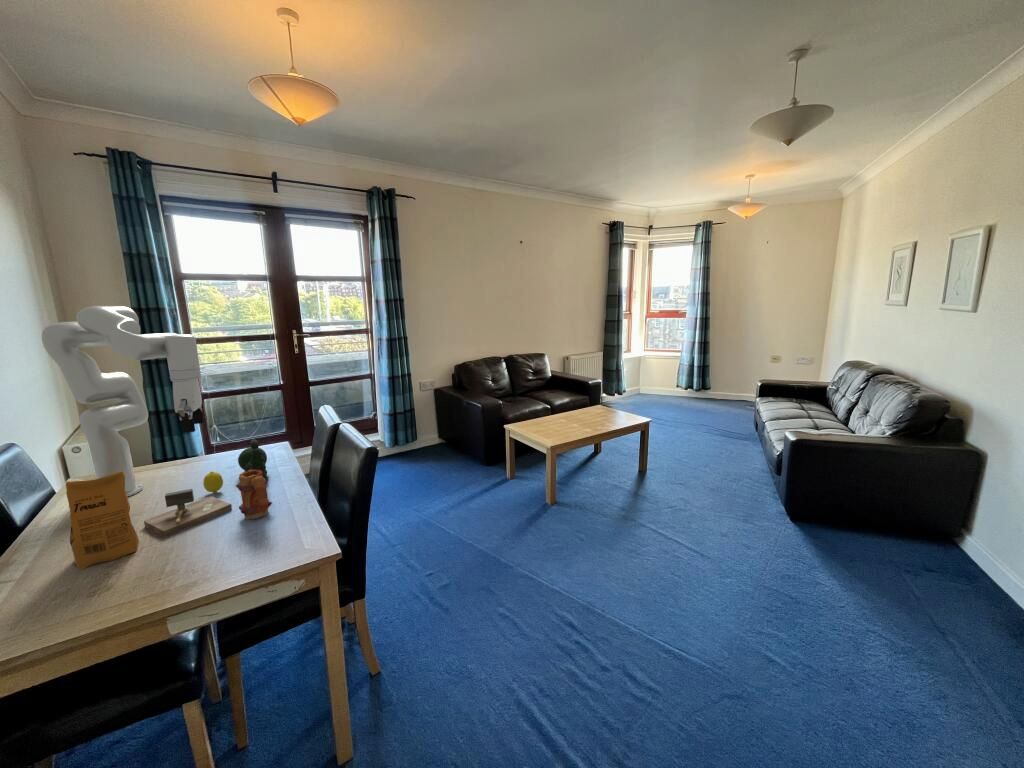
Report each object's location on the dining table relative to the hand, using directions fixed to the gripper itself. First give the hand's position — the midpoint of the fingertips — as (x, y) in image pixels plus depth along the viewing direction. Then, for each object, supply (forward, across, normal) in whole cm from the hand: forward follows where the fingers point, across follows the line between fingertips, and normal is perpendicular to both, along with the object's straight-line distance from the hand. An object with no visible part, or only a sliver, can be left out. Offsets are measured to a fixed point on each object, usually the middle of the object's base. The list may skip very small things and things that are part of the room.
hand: (193, 427), depth 129 cm
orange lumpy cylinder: (+27, +16, +18) cm, 36 cm away
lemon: (+27, -10, +1) cm, 29 cm away
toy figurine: (+27, -17, +12) cm, 34 cm away
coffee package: (+27, +22, -16) cm, 39 cm away
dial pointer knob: (+25, +10, -4) cm, 27 cm away
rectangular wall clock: (+27, +8, -2) cm, 28 cm away
